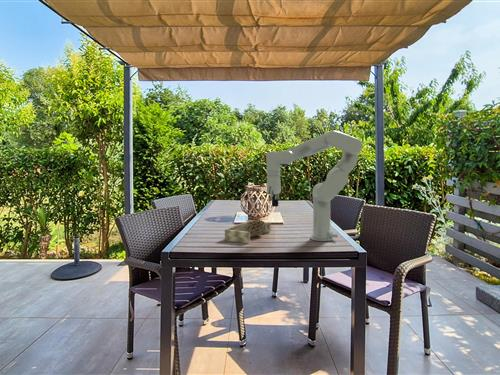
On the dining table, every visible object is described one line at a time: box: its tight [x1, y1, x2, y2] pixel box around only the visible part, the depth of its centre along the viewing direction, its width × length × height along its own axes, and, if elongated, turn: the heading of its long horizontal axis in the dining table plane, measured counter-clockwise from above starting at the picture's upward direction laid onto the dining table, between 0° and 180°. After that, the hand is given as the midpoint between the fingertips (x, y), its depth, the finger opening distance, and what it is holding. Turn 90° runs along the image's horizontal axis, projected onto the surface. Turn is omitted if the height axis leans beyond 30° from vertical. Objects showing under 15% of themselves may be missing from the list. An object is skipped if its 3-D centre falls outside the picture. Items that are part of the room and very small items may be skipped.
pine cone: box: [231, 219, 266, 238], centre depth 189 cm, size 22×10×10 cm, turn 115°
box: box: [224, 220, 272, 244], centre depth 191 cm, size 16×28×6 cm, turn 152°
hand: (275, 206), depth 182 cm, fingers closed
